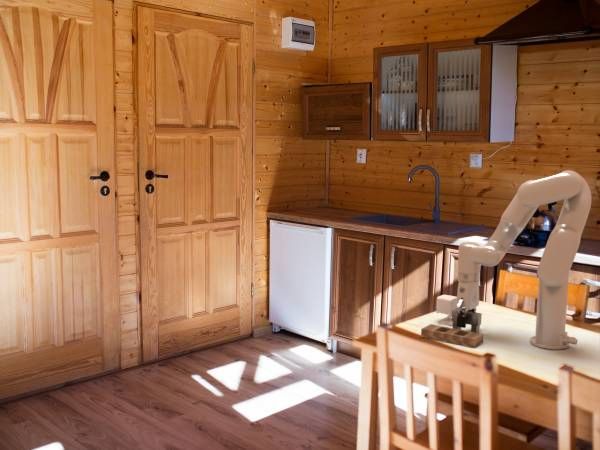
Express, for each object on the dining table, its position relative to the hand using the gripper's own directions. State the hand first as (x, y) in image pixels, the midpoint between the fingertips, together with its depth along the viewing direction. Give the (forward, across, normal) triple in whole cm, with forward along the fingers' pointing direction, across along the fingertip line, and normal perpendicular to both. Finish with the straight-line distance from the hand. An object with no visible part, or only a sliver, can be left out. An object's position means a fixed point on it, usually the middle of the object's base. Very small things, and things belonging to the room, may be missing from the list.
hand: (466, 324), depth 250 cm
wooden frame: (+3, -10, +1) cm, 11 cm away
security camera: (+4, +9, +11) cm, 15 cm away
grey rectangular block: (+3, 0, 0) cm, 3 cm away
